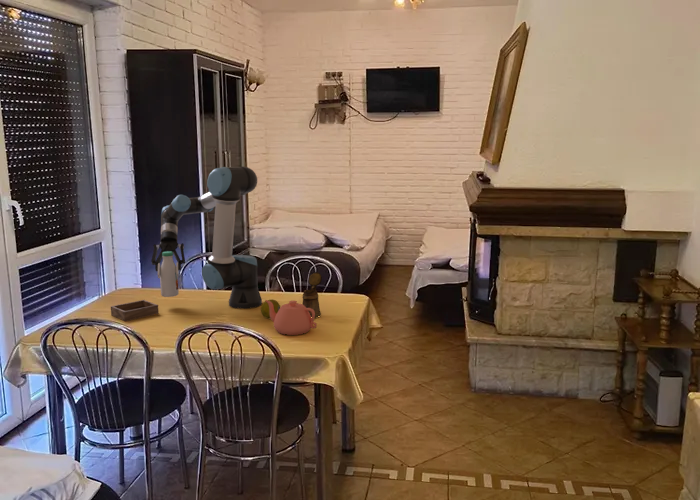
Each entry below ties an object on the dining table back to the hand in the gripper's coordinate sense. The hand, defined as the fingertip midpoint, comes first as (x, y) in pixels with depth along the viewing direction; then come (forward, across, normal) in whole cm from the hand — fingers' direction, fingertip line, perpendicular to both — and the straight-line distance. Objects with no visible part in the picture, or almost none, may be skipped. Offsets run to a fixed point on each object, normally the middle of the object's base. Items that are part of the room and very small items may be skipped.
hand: (168, 276), depth 284 cm
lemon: (+26, -44, +4) cm, 51 cm away
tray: (+15, +14, -7) cm, 22 cm away
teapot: (+41, -50, +17) cm, 67 cm away
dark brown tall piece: (+25, -62, +2) cm, 67 cm away
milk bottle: (+5, 0, -9) cm, 10 cm away
